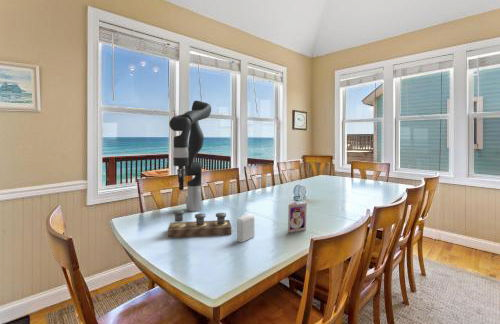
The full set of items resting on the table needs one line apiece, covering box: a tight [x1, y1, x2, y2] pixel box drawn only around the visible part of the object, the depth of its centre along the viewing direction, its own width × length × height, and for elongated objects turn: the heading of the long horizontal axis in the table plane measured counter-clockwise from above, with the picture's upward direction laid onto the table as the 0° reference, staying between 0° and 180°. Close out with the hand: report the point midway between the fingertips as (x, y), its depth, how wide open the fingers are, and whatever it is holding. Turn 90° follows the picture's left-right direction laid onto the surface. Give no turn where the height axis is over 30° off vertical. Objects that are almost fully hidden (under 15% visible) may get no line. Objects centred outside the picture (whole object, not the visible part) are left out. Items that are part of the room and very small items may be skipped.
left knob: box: [172, 209, 185, 222], centre depth 139 cm, size 6×6×5 cm
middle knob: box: [194, 213, 207, 225], centre depth 141 cm, size 6×6×5 cm
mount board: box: [167, 219, 232, 239], centre depth 141 cm, size 32×12×4 cm, turn 100°
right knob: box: [215, 212, 227, 224], centre depth 143 cm, size 6×6×5 cm
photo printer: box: [236, 213, 256, 243], centre depth 132 cm, size 10×4×12 cm, turn 140°
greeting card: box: [287, 200, 307, 234], centre depth 146 cm, size 11×7×15 cm, turn 114°
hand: (181, 189), depth 138 cm, fingers closed
